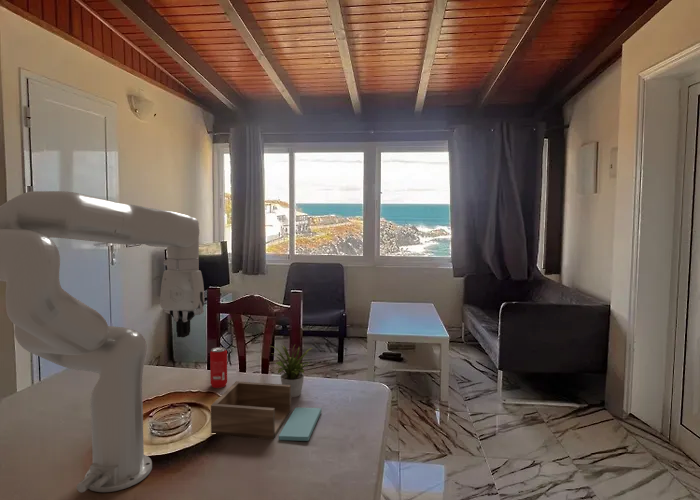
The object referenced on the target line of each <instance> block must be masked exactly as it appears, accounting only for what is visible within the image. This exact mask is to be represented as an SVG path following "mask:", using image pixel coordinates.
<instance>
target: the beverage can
mask: <svg viewBox="0 0 700 500" xmlns="http://www.w3.org/2000/svg"><path fill="white" fill-rule="evenodd" d="M209 355H210V356H209V357H210V360H209V361H210V362H209V364H210V368H209V369H210V370H209V371H210V375H209V376H210V385H211V387H212V388H213V389H221V388H225V387H226V386H227V383H228V351H227V348H226V347H223V346H217V347H216V346H215V347H213V348H211V349H210V352H209Z"/></svg>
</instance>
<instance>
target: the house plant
mask: <svg viewBox="0 0 700 500" xmlns="http://www.w3.org/2000/svg"><path fill="white" fill-rule="evenodd" d="M295 346H296V344H294V345H293V347H292V353H291V356H290V353H289V352H288V349H287V347H286V346H285V345H284V344H282V345H281V347H282V349H283V352H284V354H285V356H286V358H285V357H284V356H283V354H282V352H281V351H280V350H279V349H278V348H277V347H275V346H272V345H270V347H271V348H274V349H275V350H276V351H278V353H272V355H275V357H276V358H277V359H278V360H279V361H276V362H275V365H278V366H277V367H275V366H274V367H273V368H276V369H277V368H278V367H281V368H278V371H277V374H279V373H281V372H282V373H281V375H280V382H281V384H283V385H291V398H298V397H299V396H301V393H302V388H303V383H304V377H305V374H304V373H305V369H304V368H305V367H306V366H309V365H310V363H311V362H307V361H303V362H301V361H302V360H303V359H304V357H305V356H306V355H308V353H309V351H311V350H312V349H313V347H311V348H308V349H307V350H305V352H303V354H301V356H300V355H299V354H300V347H298V348H297V349H296V350H295V351H294V348H295ZM295 353H296V355H295ZM276 355H277V356H276ZM294 355H295V357H294ZM279 356H280V357H281V359H280V357H279ZM299 356H300V357H299ZM298 357H299V358H298ZM286 359H287V360H286ZM282 360H283V361H284V362H283V361H282ZM285 364H286V365H285Z"/></svg>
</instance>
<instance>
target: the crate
mask: <svg viewBox="0 0 700 500" xmlns="http://www.w3.org/2000/svg"><path fill="white" fill-rule="evenodd" d="M291 408H292V397H291V385H283V384H282V383H279V384H278V383H266V382H253V381H252V382H251V381H240V380H238V381H237V380H236V381H234V383H233V384H232V385H231V386H230V387H229V388H227V390H225V391H224V392H223V393H222V394H221V395H220V396H219V397H218V398H217V399H216V400H215V401H214V402H213V403H212V404H211V405H210V434H211V433H216V434H215V435H214V436H225V437H237V438H248V439H259V440H271V441H272V440H273V441H274V439H276V436H277V434H278V432H279V431H280V430H281V429H282V426H283V425H284V423H285V421H286V419H287V418H288V416H290V415H289V414H290V413H291V412H292V409H291Z"/></svg>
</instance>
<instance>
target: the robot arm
mask: <svg viewBox="0 0 700 500" xmlns="http://www.w3.org/2000/svg"><path fill="white" fill-rule="evenodd" d="M199 225H200V223H199V221H198V219H197V218H196V217H192V216H190V215H187V214H184V213H180V212H175V211H170V210H163V209H158V208H153V207H152V208H151V207H145V206H141V205H135V204H129V203H124V202H118V201H114V200H109V199H105V198H100V197H97V196H92V195H87V194H83V193H79V192H74V191H73V192H72V191H66V190H61V191H60V190H52V191H51V190H49V191H48V190H43V191H42V190H41V191H35V190H34V191H28V192H24V193H21V194H18V195H16V196H15V197H13V198H11V199H9V200H8V201H6V202H5V203H3V204H2V205H0V282H4V283H5V282H6V283H5V286H6V287H5V310H6V315H7V317H8V319H9V320H10V322H11V323H12V324H13V325H14V327H13V328H14V329H13V330H14V336H15V339H16V341H17V343H18V345H19V346H20V347H21V348H23V349H24V350H25V351H26V352H28V353H31V354H33V355H35V356H37V357H40V358H41V359H44V360H46V361H48V362H52V363H54V364H56V365H58V366H61V367H63V368H66V369H69V370H74V371H82V372H89V373H95V374H98V375H99V376H98V377H99V378H98V380H97V382H96V384H95V385H94V387H93V390H92V392H91V395H90V417H91V418H90V419H91V420H90V421H91V422H90V423H91V424H90V425H91V447H92V448H91V450H92V453H91V454H92V464H91V465H89V469H88V470H87V472H86V473H85V476H84V479H82V480H81V481H80V482H78V483H77V485H76V490H77V491H78V492H79V493H82V494H83V493H85V492H86V491H87V490H90V491H91V492H95V493H96V492H98V493H111V492H117V491H122V490H124V489H127V488H130V487H132V486H135V485H137V484H138V483H140V482H141V481H143V480H144V479H146V478H147V477H148V476H149V475H150V473H151V472H152V469H153V461H152V459H151V458H150V457H149V456H148V455H146V454H145V452H144V450H145V449H144V413H143V412H144V411H143V409H144V406H143V405H144V404H143V402H144V401H143V375H144V367H145V361H146V356H147V350H148V349H147V341H146V339H145V337H144V336H143V335H142V334H141V333H140V332H138V331H137V330H135V329H133V328H130V327H122V326H113V325H109V324H108V322H107V321H106V319H105V318H104V316H103V315H102V314H101V313H99V312H98V311H97V310H95V309H93V308H92V307H90V306H89V305H87V304H85V303H84V302H82V300H81V301H80V300H79V299H77V298H76V297H74V296H72V295H71V294H69V293H68V292H67V291H65V290H64V289H63V288H62V286H61V283H60V281H61V280H60V270H61V269H60V268H61V267H60V266H61V256H60V255H61V254H60V252H59V248H58V247H57V245H56V243H55V242H54V240H52V238H53V239H55V238H56V239H67V240H68V239H69V240H75V241H77V240H78V241H85V242H86V241H87V242H95V243H96V242H97V243H103V244H113V245H115V244H116V245H130V246H133V245H146V246H149V247H155V248H156V247H159V248H166V250H167V251H166V252H167V253H166V257H167V258H166V259H165V260H163V261H162V262H163V265H164V266H166V270H164V271H163V274H162V279H161V285H160V286H161V287H160V299H159V303H160V307H161V309H162V311H163V313H166V314H169V315H170V316H171V317H172V318H173V321H175V322H176V323H175V325H176V326H175V327H176V329H175V331H176V337H177V338H182V339H183V338H186V337H188V336H190V333H191V321H192V320H193V318H194V317H195V316H199V315H202V314H204V312H205V310H204V309H203V308H204V306H205V287H204V278H203V274H202V271H201V270H199V267H200V266H199V265H200V264H199V263H200V262H199V260H200V259H199V255H200V253H199V251H200V249H199V247H200V245H199V244H200V242H199V241H200V237H199V236H200V226H199Z"/></svg>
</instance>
